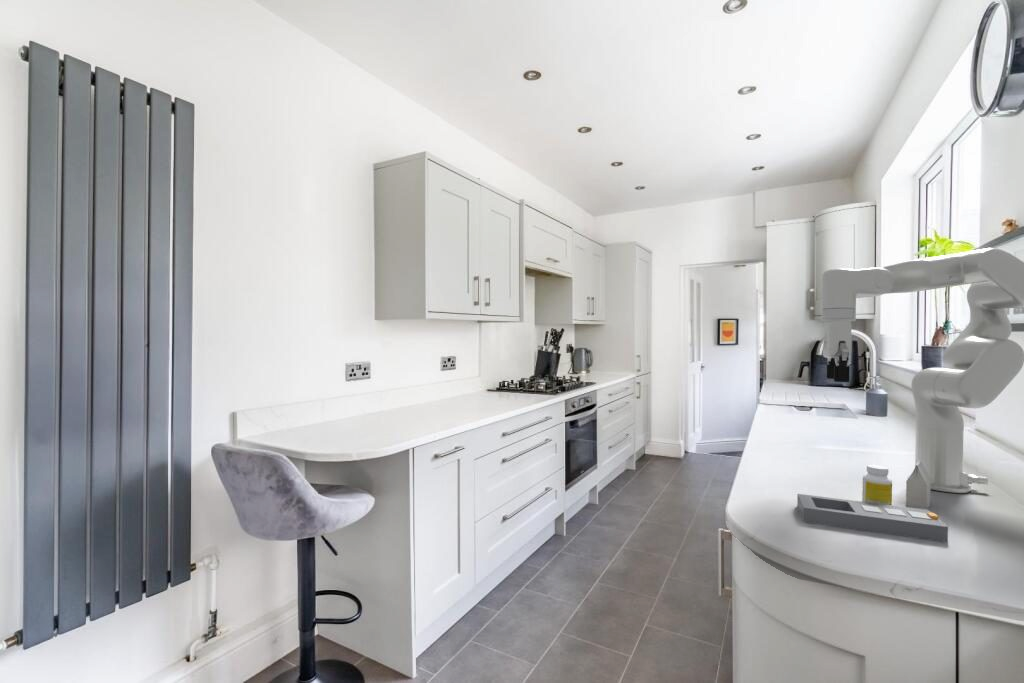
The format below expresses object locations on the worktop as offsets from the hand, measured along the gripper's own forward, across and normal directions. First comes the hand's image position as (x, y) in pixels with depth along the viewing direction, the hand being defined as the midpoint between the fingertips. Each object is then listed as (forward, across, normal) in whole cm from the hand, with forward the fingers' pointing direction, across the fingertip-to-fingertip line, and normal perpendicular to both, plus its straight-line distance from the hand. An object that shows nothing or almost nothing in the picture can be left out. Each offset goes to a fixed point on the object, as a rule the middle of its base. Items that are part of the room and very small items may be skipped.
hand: (837, 380), depth 125 cm
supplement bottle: (+28, +16, +5) cm, 33 cm away
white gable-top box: (+29, +8, +15) cm, 33 cm away
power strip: (+28, +27, 0) cm, 39 cm away
